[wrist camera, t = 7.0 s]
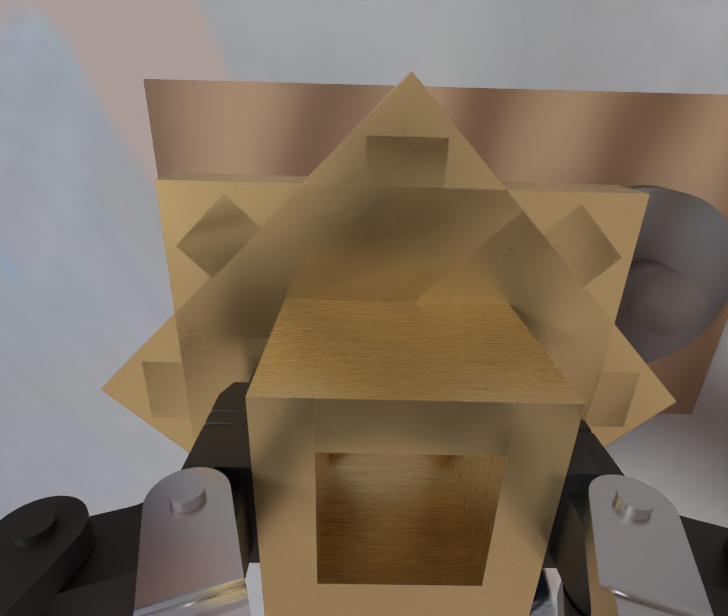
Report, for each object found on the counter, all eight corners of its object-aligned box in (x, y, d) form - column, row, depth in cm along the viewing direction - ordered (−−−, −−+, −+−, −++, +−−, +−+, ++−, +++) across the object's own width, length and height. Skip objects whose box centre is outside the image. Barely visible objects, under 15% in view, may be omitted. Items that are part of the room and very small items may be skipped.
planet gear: (741, 86, 10) (1090, 64, 5) (589, 557, 15) (688, 750, 11) (62, 65, 9) (-228, 20, 5) (162, 551, 15) (74, 746, 10)
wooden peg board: (768, 98, 20) (965, 92, 13) (668, 391, 26) (770, 486, 19) (164, 82, 19) (65, 67, 13) (204, 381, 25) (150, 473, 19)
